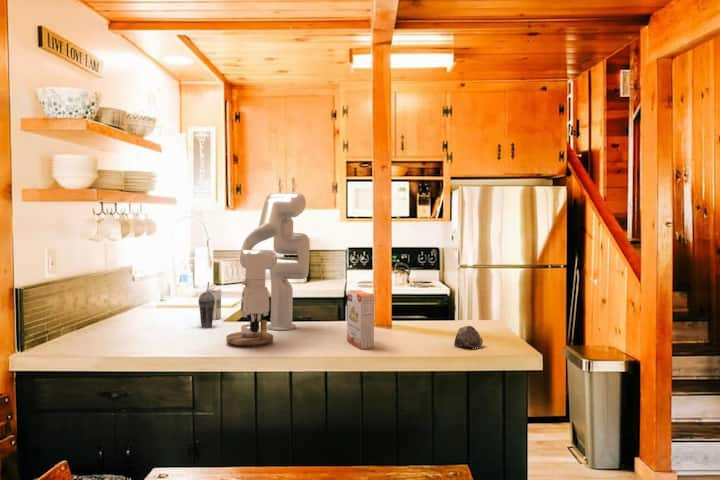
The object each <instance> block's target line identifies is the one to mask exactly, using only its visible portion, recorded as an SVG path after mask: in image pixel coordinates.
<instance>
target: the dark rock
mask: <svg viewBox="0 0 720 480" xmlns="http://www.w3.org/2000/svg"><path fill="white" fill-rule="evenodd" d="M483 341H484V340H483V338H482V337H481V335H480V334H479V332H478V331H477V330H476V329H475V327H474V326H472V325H465V326H462V327H459V328H458V331H457V333H456V335H455V339H454V347H455V346H457V347H461V346H464V347H466V348H467V349H469V348H477V347H479V348H481V347H482V345H483Z"/></svg>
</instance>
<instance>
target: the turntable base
mask: <svg viewBox="0 0 720 480" xmlns="http://www.w3.org/2000/svg"><path fill="white" fill-rule="evenodd" d="M261 345H263V344H259V345H238V346H239V347H257V346H261Z"/></svg>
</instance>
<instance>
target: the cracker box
mask: <svg viewBox="0 0 720 480" xmlns="http://www.w3.org/2000/svg"><path fill="white" fill-rule="evenodd" d="M346 311H347V313H346V314H347V315H346V317H347V319H346V322H347V324H346V325H347V326H346V327H347V330H346V341H347V342H348V343H349V344H351V345H353V346H354V347H356V348H358V349H359V350H367V349H373V348H375V347H374V343H375V342H374V339H375V330H374V329H375V295H374V294H372V293H369V292H365V291H363V290H360V289H359V290H358V289H357V290H347V310H346Z"/></svg>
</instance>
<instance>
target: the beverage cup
mask: <svg viewBox="0 0 720 480" xmlns="http://www.w3.org/2000/svg"><path fill="white" fill-rule="evenodd" d="M209 286H210V281H208V282H207V288H206V290H207V292H206V291H204V292H203V293H201V294H200V295H199V298H198V307H199V316H200V325H201V328H204V329H208V328H209V329H210V328H212V327H213V321H214V320H213V311H214V304H215V298H214V296H213V294H212V293H210V292H208V290H209V289H210V287H209Z"/></svg>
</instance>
